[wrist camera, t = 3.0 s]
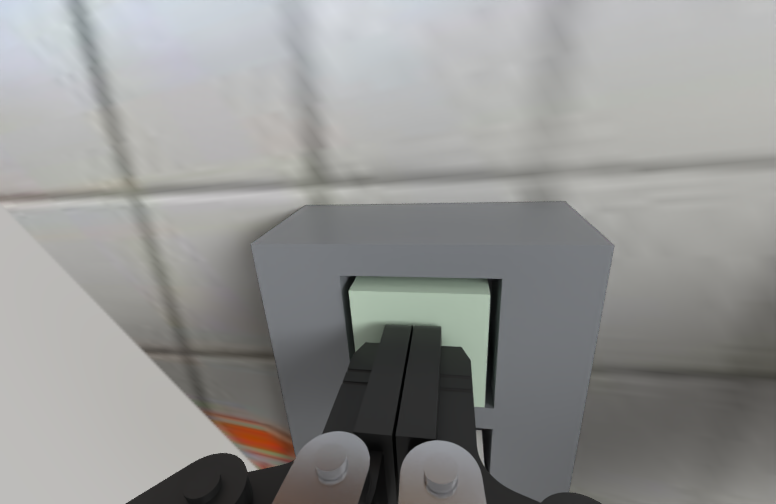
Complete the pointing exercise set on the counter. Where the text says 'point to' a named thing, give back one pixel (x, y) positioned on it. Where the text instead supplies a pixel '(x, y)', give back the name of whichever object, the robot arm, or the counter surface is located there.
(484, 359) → the sage green key
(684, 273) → the counter surface
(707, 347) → the counter surface
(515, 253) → the keypad
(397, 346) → the robot arm
